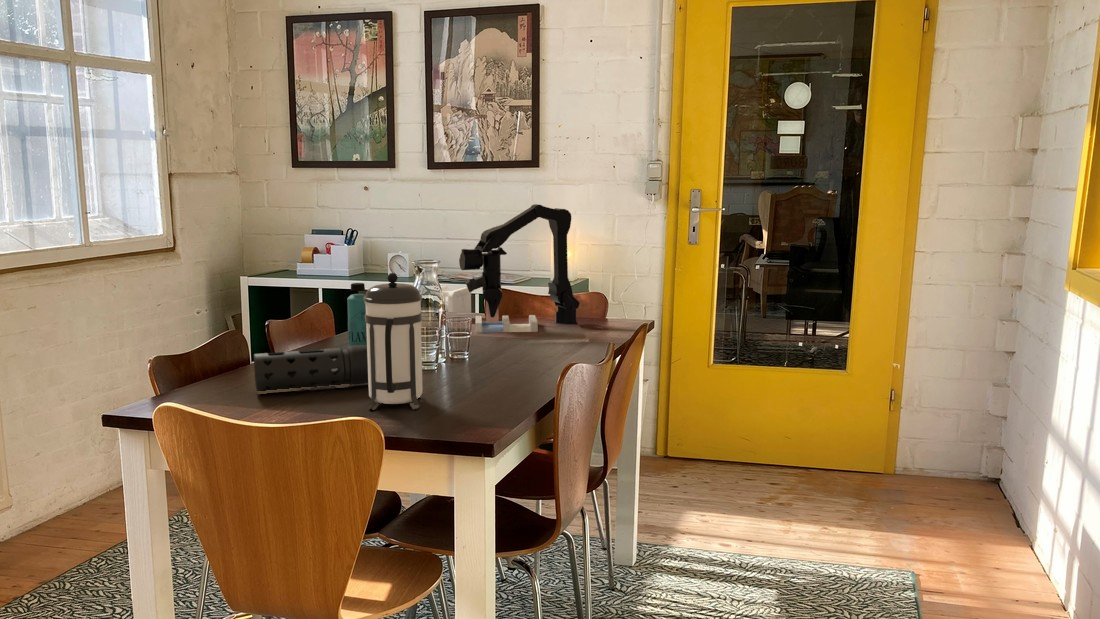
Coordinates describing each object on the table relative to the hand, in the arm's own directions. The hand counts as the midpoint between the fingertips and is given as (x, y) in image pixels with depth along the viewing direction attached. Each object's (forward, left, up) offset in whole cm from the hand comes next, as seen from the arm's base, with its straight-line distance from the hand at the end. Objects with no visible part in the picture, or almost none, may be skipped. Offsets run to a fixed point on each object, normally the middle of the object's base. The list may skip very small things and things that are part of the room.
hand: (492, 316), depth 282 cm
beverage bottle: (+40, +27, -5) cm, 48 cm away
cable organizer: (+15, -21, -5) cm, 26 cm away
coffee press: (+23, +89, -5) cm, 92 cm away
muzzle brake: (+44, +73, -6) cm, 85 cm away
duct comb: (-4, 0, -5) cm, 7 cm away
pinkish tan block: (0, 0, -2) cm, 2 cm away
